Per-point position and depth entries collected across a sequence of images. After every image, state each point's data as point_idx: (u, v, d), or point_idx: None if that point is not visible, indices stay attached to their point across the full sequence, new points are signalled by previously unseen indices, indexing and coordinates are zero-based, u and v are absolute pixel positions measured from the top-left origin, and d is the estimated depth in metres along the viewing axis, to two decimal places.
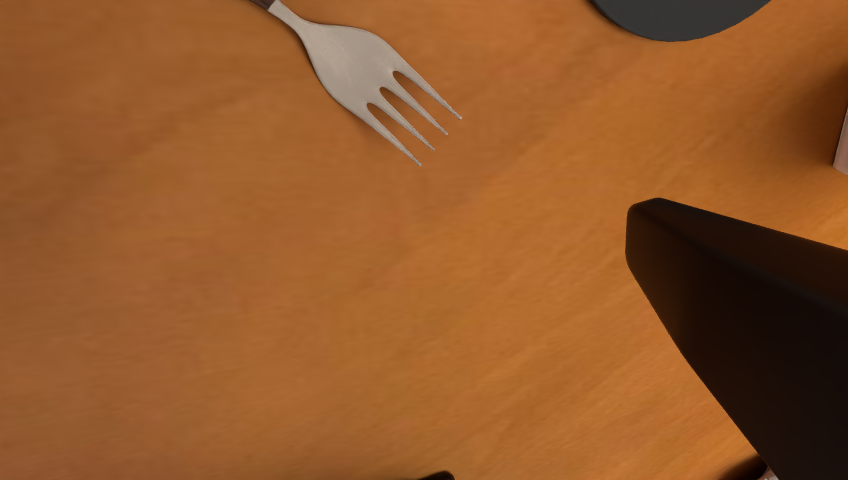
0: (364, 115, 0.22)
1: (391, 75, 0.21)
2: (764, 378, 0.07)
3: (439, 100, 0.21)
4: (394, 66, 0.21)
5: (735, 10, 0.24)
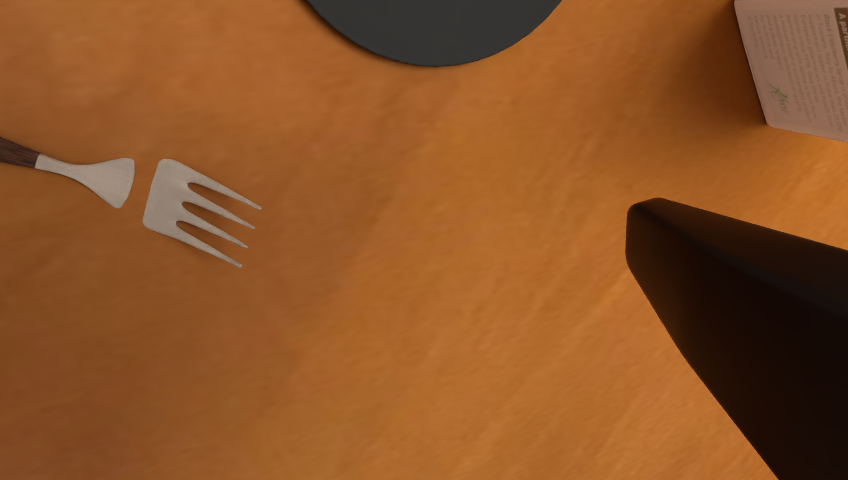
0: (176, 234, 0.21)
1: (187, 188, 0.21)
2: (764, 378, 0.07)
3: (235, 197, 0.21)
4: (185, 178, 0.21)
5: (536, 5, 0.21)
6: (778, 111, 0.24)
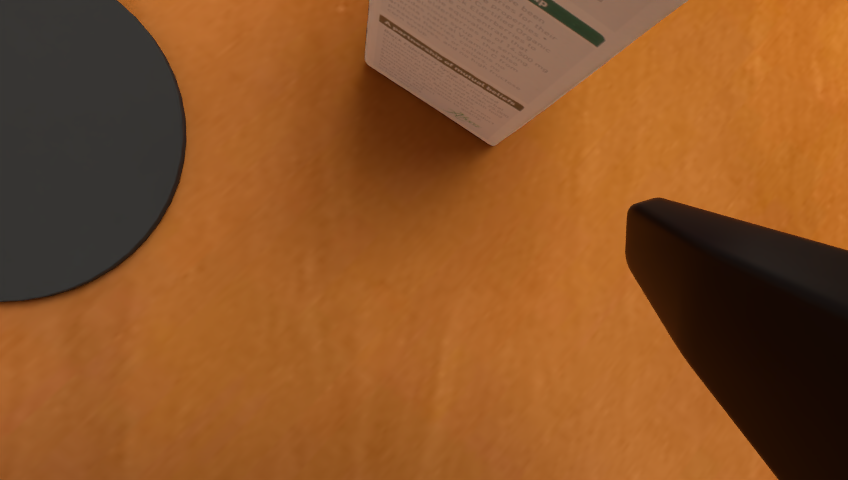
0: None
1: None
2: (764, 378, 0.07)
3: None
4: None
5: (158, 174, 0.21)
6: (477, 129, 0.22)
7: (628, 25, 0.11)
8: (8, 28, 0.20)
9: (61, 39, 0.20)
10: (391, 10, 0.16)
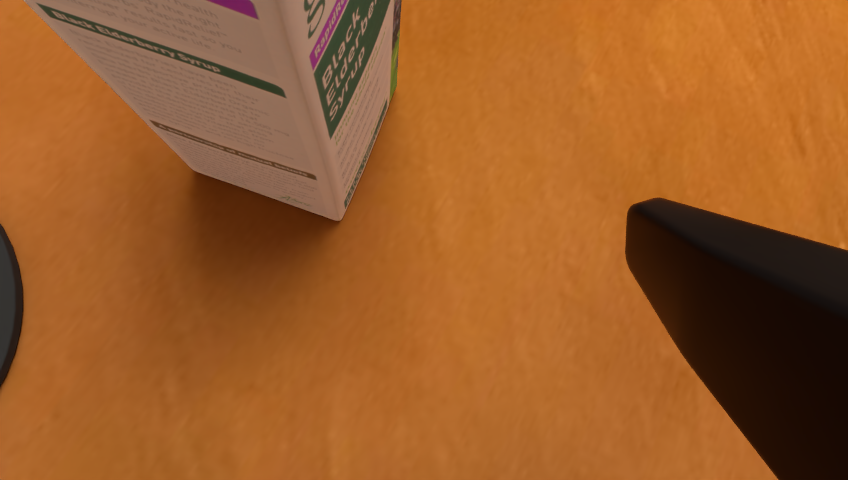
0: None
1: None
2: (764, 378, 0.07)
3: None
4: None
5: None
6: (312, 208, 0.21)
7: (278, 68, 0.11)
8: None
9: None
10: (150, 113, 0.16)
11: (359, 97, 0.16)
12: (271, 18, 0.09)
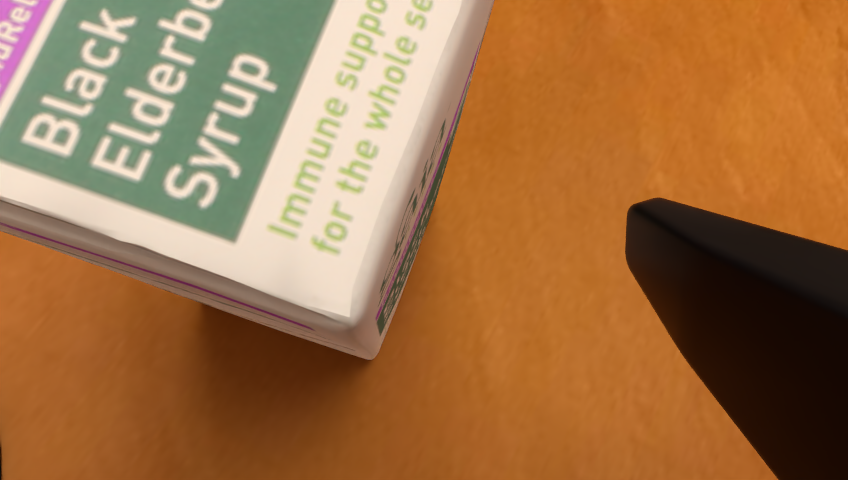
0: None
1: None
2: (764, 378, 0.07)
3: None
4: None
5: None
6: (342, 351, 0.18)
7: (332, 340, 0.07)
8: None
9: None
10: None
11: None
12: (336, 338, 0.06)
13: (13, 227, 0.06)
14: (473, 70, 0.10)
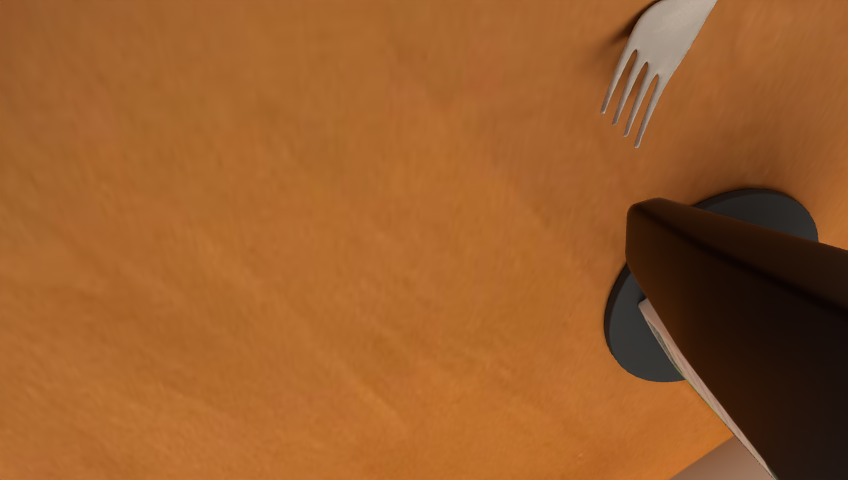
0: (631, 47, 0.21)
1: (656, 73, 0.22)
2: (764, 378, 0.07)
3: (646, 123, 0.22)
4: (663, 75, 0.22)
5: (623, 345, 0.30)
6: None
7: None
8: None
9: None
10: None
11: (746, 439, 0.24)
12: None
13: None
14: None
